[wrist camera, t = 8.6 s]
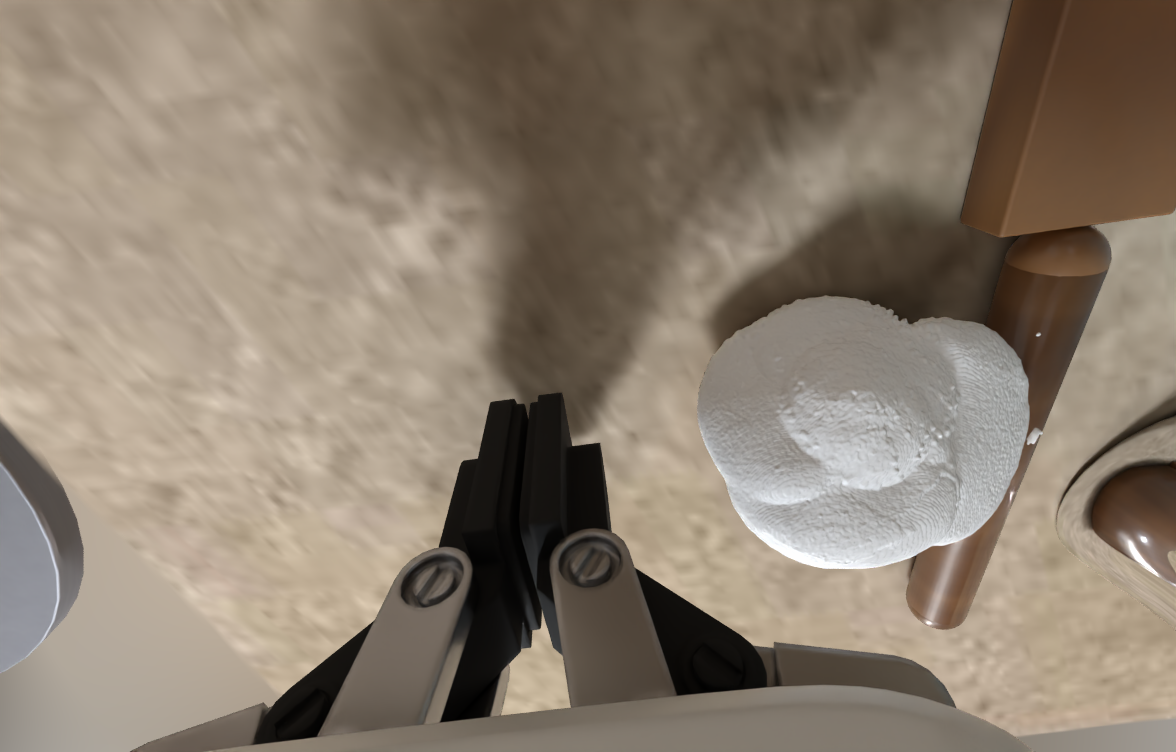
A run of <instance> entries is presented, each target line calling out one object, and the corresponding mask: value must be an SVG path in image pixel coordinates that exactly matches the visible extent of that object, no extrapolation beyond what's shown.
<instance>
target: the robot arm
mask: <svg viewBox="0 0 1176 752" xmlns="http://www.w3.org/2000/svg"><path fill="white" fill-rule="evenodd" d="M542 611H543V614H544V618H545V621H546V625H547V628H548V631H549V634H550V638H551V641H552V645H553V648H554V649H556V650H557V651H558V652H559V653H560V654H561V655H562V656H563V660H564V666H565V673H566V679H567V686H568V692H569V699H570V705H571V708H564V709H555V710H546V711H537V712H528V713H520V714H511V715H502V716H501V713H502V708H503V704H504V699H505V695H506V691H507V686H508V682H509V674H510V667H509V663H510V662H511V661H512V660H513V659H514V658H515V657H516V656H517V655H518V654H519V653H520V652H521V649H522V648H530V647H531V643H532V630H537V629H540V628H541V619H542ZM130 752H1034V751H1033V750H1032V749H1031V748H1029V747H1028V746H1027V745H1026V744H1024V743H1023V742H1022V741H1020V740H1019V739H1017V738H1016V737H1014V736H1013V735H1011V734H1010V733H1008V732H1007V731H1005V730H1003V729H1001V728H999V727H997V726H995V725H993V724H991V723H989V722H987V721H986V720H983V719H981V718H978V717H976V716H974V715H971V714H969V713H966V712H964V711H962V710H959V709H957V708H956V706H955V703H954V701H953V700H952V698H951V696H950V694H949V693H948V691H947V689H946V687H945V686H944V684H943V683H942V682H941V681H940V680H938V679H937V678H936V677H935V676H934V675H933V674H932V673H931V672H930V671H929V670H928V669H926V668H924V667H923V666H921V665H919V664H917V663H916V662H914V661H912V660H909V659H906V658H902V657H898V656H895V655H886V654H877V653H868V652H859V651H850V650H841V649H832V648H823V647H814V646H805V645H795V644H786V643H777V642H774V648H768V647H759V646H753V645H752V644H751V643H749V642H748V641H747V640H746V639H745V638H743V637H742V636H741V635H740V634H738V633H736V632H735V631H733V630H732V629H730V628H729V627H727V626H725V625H724V624H722V623H721V622H719V621H718V620H716V619H714V618H713V617H711V616H710V615H708V614H707V613H705V612H703V611H702V610H700V609H699V608H697V607H696V606H694V605H692V604H691V603H689V602H688V601H686V600H685V599H683V598H682V597H680V596H678V595H677V594H675V593H674V592H672V591H671V590H669V589H667V588H666V587H664V586H663V585H661V584H660V583H658V582H656V581H655V580H653V579H652V578H650V577H649V576H647V575H645V574H644V573H642V572H641V571H639V570H638V569H636V568H635V567H634V564H633V561H632V558H631V555H630V552H629V550H628V548H627V546H626V544H625V542H624V541H623V540H622V539H621V538H620V537H619V536H617V535H616V534H614V533H612V531H611V522H610V512H609V503H608V495H607V487H606V479H605V472H604V465H603V458H602V452H601V446H600V443H594V444H586V445H579V446H572V442H571V437H570V431H569V426H568V421H567V415H566V410H565V405H564V399H563V395H562V393H554V394H546V395H539V396H538V402H532V403H530V410H529V420H528V415H527V411H526V407H525V405H524V404H517V403H516V401H515V399H509V400H502V401H494V402H491V403H490V406H489V411H488V415H487V420H486V424H485V429H484V433H483V438H482V442H481V447H480V451H479V456H478V459H472V460H465V461H463V462H462V463H461V465H460V468H459V472H458V476H457V480H456V483H455V487H454V491H453V495H452V499H451V502H450V506H449V510H448V514H447V518H446V521H445V525H444V529H443V533H442V537H441V540H440V544H439V548H434V549H431V550H429V551H426V552H423V553H421V554H420V555H418V556H417V557H415V558H413V559H412V560H411V561H410V562H409V563H407V564H406V565H405V566H404V567H403V568H402V569H401V571H400V572H399V574H398V575H397V577H396V578H395V580H394V582H393V584H392V586H391V588H390V590H389V592H388V594H387V596H386V598H385V600H384V602H383V604H382V607H381V609H380V611H379V613H378V615H377V617H376V619H375V620H374V621H373V622H372V623H371V624H369V625H368V626H367V627H366V628H365V629H363V630H362V631H361V632H360V633H358V634H357V635H356V636H355V637H353V638H352V639H351V640H350V641H348V642H347V643H346V644H345V645H343V646H342V647H341V648H340V649H338V650H337V651H336V652H335V653H333V654H332V655H331V656H330V657H328V658H327V659H326V660H325V661H323V662H322V663H321V664H320V665H319V666H317V667H316V668H315V669H314V670H312V671H311V672H310V673H309V674H307V675H306V676H305V677H304V678H302V679H301V680H300V681H299V682H297V683H296V684H295V685H294V686H292V687H291V688H290V689H289V690H288V691H287V692H286V693H285V694H284V695H282V696H281V697H280V698H279V699H278V700H277V701H276V702H275V704H274V705H273V706H272V707H269V708H268V707H267V706H266V705H265V704H264V703H261V704H258V705H255V706H252V707H249V708H246V709H244V710H241V711H238V712H235V713H232V714H229V715H227V716H224V717H220V718H218V719H215V720H212V721H209V722H206V723H203V724H200V725H197V726H194V727H191V728H189V729H186V730H183V731H180V732H177V733H174V734H171V735H168V736H165V737H162V738H160V739H157V740H154V741H151V742H148V743H146V744H144V745H142V746H140V747H138V748H136V749H134V750H132V751H130Z"/></svg>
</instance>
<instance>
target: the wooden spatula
mask: <svg viewBox="0 0 1176 752" xmlns="http://www.w3.org/2000/svg"><path fill="white" fill-rule="evenodd" d="M1175 209H1176V0H1013V3H1012V7H1011V11H1010V15H1009V20H1008V24H1007V28H1006V32H1005V36H1004V40H1003V45H1002V49H1001V53H1000V57H999V61H998V65H997V69H996V74H995V78H994V82H993V86H992V90H991V94H990V99H989V103H988V107H987V111H986V115H985V119H984V124H983V128H982V132H981V136H980V140H979V144H978V148H977V153H976V157H975V161H974V165H973V169H972V173H971V178H970V182H969V186H968V190H967V194H966V198H965V203H964V207H963V211H962V215H961V219H960V221H961V223H963V224H965V225H968V226H971V227H973V228H976V229H979V230H981V231H984V232H987V233H989V234H992V235H995V236H997V237H1000V238H1002V237H1009V236H1016V235H1021V236H1020V237H1019V238H1018V239H1017V240H1016V241H1015V242H1014V243H1013V244H1012V246H1011V247H1010V249H1009V250H1008V252H1007V255H1006V257H1005V260H1004V263H1003V267H1002V270H1001V273H1000V277H999V280H998V284H997V287H996V290H995V294H994V297H993V300H992V304H991V307H990V310H989V314H988V317H987V321H986V324H985V326H986V327H988V328H989V329H991V330H992V331H996V332H997V333H998V334H999V335H1000V336H1001V337H1002V338H1003V339H1004V340H1005V341H1006V343H1007V344H1008V345H1009V346H1010V347H1011V348H1013V349H1014V351H1015V352H1016V354H1017V356H1018V357H1019V358H1020V359H1021V363H1022V366H1023V370H1024V372H1025V374H1026V376H1027V378H1028V383H1029V388H1028V404H1029V406H1030V407H1029V411H1030V416H1029V418H1030V419H1029V427H1028V432H1027V435H1026V439H1025V442H1024V446H1023V449H1022V454H1021V457H1020V460H1019V465H1018V468H1017V470H1016V472H1015V474H1014V476H1013V477H1012V479H1011V481H1010V485H1009V487H1008V489H1007V491H1006V493H1005V495H1004V497H1003V500H1002V502H1001V503H1000V504H999V506H998V508H997V510H996V511H995V512H994V513H993V515H992V516H991V517H990V518H989V519H988V520H987V521H986V523H985V524H984V525H982V527H980V528H979V529H978V530H977V531H976V532H974V533H973V534H972V535H970V536H968V537H966V538H964V539H962V540H960V541H957V542H954V543H950V544H947V545H944V546H931V547H929V548H928V549H926V550H924V551H922V552H920V553H918V554H917V557H916V560H915V563H914V567H913V570H912V574H911V577H910V580H909V584H908V587H907V591H906V599H907V603H908V606H909V608H910V610H911V612H912V613H913V614H914V616H915V617H916V618H917V619H918V620H920V621H921V622H922V623H924V624H926V625H927V626H930V627H932V628H936V629H941V630H947V629H952V628H955V627H957V626H959V625H960V624H961V623H963V621H964V620H965V618H966V616H967V614H968V612H969V609H970V607H971V604H972V602H973V599H974V597H975V595H976V592H977V590H978V587H979V585H980V582H981V580H982V577H983V575H984V573H985V570H986V568H987V565H988V563H989V560H990V558H991V555H992V553H993V551H994V548H995V546H996V543H997V541H998V538H999V536H1000V533H1001V531H1002V528H1003V526H1004V524H1005V521H1006V519H1007V516H1008V514H1009V511H1010V509H1011V506H1012V504H1013V502H1014V499H1015V497H1016V494H1017V492H1018V489H1019V487H1020V484H1021V482H1022V480H1023V477H1024V475H1025V472H1026V470H1027V467H1028V465H1029V462H1030V460H1031V458H1032V455H1033V453H1034V450H1035V448H1036V445H1037V443H1038V440H1039V438H1040V435H1041V434H1039V437H1038V438H1037V440H1036V442H1035V443H1034V444H1032V443H1030V444H1029V445H1027V438H1028V436H1029V435H1030V433H1031V432H1032V431H1033V429H1034V428H1038V429H1039V430H1041V431H1043V428H1044V426H1045V423H1046V421H1047V418H1048V416H1049V413H1050V411H1051V409H1052V406H1053V404H1054V401H1055V399H1056V396H1057V394H1058V391H1059V389H1060V387H1061V384H1062V382H1063V379H1064V377H1065V374H1066V372H1067V369H1068V367H1069V365H1070V362H1071V360H1072V357H1073V355H1074V352H1075V350H1076V347H1077V345H1078V342H1079V340H1080V338H1081V335H1082V333H1083V330H1084V328H1085V325H1086V323H1087V320H1088V318H1089V316H1090V313H1091V311H1092V308H1093V306H1094V303H1095V301H1096V298H1097V296H1098V294H1099V291H1100V289H1101V286H1102V284H1103V281H1104V279H1105V276H1106V274H1107V271H1108V269H1109V266H1110V263H1111V248H1110V245H1109V242H1108V240H1107V239H1106V237H1105V236H1104V235H1103V234H1102V233H1101V232H1100V231H1099V230H1097V229H1096V228H1094V227H1092V226H1090V225H1095V224H1103V223H1110V222H1117V221H1124V220H1132V219H1139V218H1146V217H1153V216H1160V215H1167V214H1171V213H1173V212H1174V211H1175ZM1038 332H1039V333H1041V335H1040V336H1036V334H1037V333H1038Z"/></svg>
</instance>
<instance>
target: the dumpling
mask: <svg viewBox="0 0 1176 752" xmlns="http://www.w3.org/2000/svg"><path fill="white" fill-rule="evenodd" d="M893 313H894V312H893V310H892V309H889V310H886V308H884V307H880V305H879V304H877V305H871V303H870V302H869V301H866V302H865V301H863V300H859V299H856V298H847V297H839V296H834V297H830V296H827V295H825V296H822V297H817V298H807V299H805V300H801V299H797V300H795V301H794V302H793V303H792V304H790V305H782V307H781V308H779V309H775V310H774V311H773V312H770V313H769V314H768V316H767V317H762V318H760V319H759V320H757V321H755V322H753V323H752V325H751V326H747V327H745V328H744V329H742V330H737V331H736V332H735V333H734V335H733V336H732V337H731V338H729V339H726V340H725V341H724V342H723V345H722V346H721V347H720V348H719V349H718V350H717V352H716V353H715V354H714V355H713V356H712V357H711V359H710V362H709V364H708V366H707V369H706V371H705V372H704V377H703V380H702V382H701V385H700V387H699V393H698V405H697V411H698V413H697V414H698V423H699V428H700V431H701V435H702V438H703V440H704V443H705V446H706V448H707V449H708V452H709V454H710V455H711V457H712V459H713V461H714V463H715V465H716V467H717V468H718V470H719V471H720V473H721V474H722V476H723V477H724V479H725V481H726V485H727V490H728V492H729V495H730V499H731V501H732V504H733V506H734V508H735V510H736V512H738V513H739V515H740V517H741V519H742V520H743V521H744V523H745V524H746V526H747V527H748V528H749V529H750V530H751V531H752V532H754V533H755V534H756V535H757V536H758V537H759V538H760V539H761V540H763V541H764V542H765V543H766V544H768V545H769V546H770V547H772V548H773V549H775V550H777V551H779V552H780V553H782V554H783V555H785V556H786V557H789V558H792V559H794V560H796V561H798V562H800V563H803V564H808V565H811V566H815V567H820V568H824V569H829V568H837V569H839V568H841V569H862V568H875V567H880V566H885V565H888V564H892V563H896V562H899V561H902V560H905V559H909V558H911V557H913V556H915V555H917V554H918V553H920V552H922V551H924V550H926V549H928V548H929V547H931V546H944V545H947V544H950V543H954V542H957V541H960V540H962V539H964V538H966V537H968V536H970V535H972V534H973V533H974V532H976V531H977V530H978V529H979V528H980V527H982V525H984V524H985V523H986V521H987V520H988V519H989V518H990V517H991V516H992V515H993V513H994V512H995V511H996V510H997V508H998V506H999V504H1000V503H1001V502H1002V500H1003V497H1004V495H1005V493H1006V491H1007V489H1008V487H1009V485H1010V481H1011V479H1012V477H1013V476H1014V474H1015V472H1016V470H1017V468H1018V465H1019V460H1020V457H1021V454H1022V449H1023V446H1024V442H1025V439H1026V435H1027V432H1028V427H1029V419H1030V418H1029V416H1030V411H1029V407H1030V406H1029V404H1028V388H1029V383H1028V378H1027V376H1026V374H1025V372H1024V370H1023V366H1022V363H1021V359H1020V358H1019V357H1018V356H1017V354H1016V352H1015V351H1014V349H1013V348H1011V347H1010V346H1009V345H1008V344H1007V343H1006V341H1005V340H1004V339H1003V338H1002V337H1001V336H1000V335H999V334H998V333H997V332H996V331H992V330H991V329H989V328H988V327H986V326H985V325H983V324H979V323H976V322H973V321H961V320H953V319H952V318H949V317H941V318H934V317H930V318H926V319H920V320H919V321H918V322H914V323H913V324H908V321H907V319H902V320H901V321H898V316H897V315H895V316H893ZM1040 335H1041V333H1039V332H1038V333H1037V334H1036V336H1040ZM1042 433H1043V432H1042V431H1041V430H1039V429H1038V428H1034V429H1033V431H1032V432H1031V433H1030V435H1029V436H1028V438H1027V445H1029V444H1030V443H1032V444H1034V443H1035V442H1036V440H1037V438H1038V437H1039V434H1042Z"/></svg>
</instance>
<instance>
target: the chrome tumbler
mask: <svg viewBox="0 0 1176 752" xmlns="http://www.w3.org/2000/svg"><path fill="white" fill-rule="evenodd" d="M1056 529H1057V534H1058V537H1059V539H1060V541H1061V542H1062V544H1063V545H1064V547H1065V548H1066V549H1067V550H1068V551H1069V552H1070V553H1071V554H1072V555H1073V556H1075V557H1076V558H1077V559H1078V560H1080V561H1081V562H1082V563H1084V564H1085V565H1086V566H1088V567H1089V568H1090V569H1092V570H1093V571H1095V572H1096V573H1098V574H1099V575H1100V576H1102V577H1103V578H1105V579H1106V580H1108V581H1109V582H1111V583H1112V584H1113V585H1115V586H1116V587H1118V588H1119V589H1121V590H1122V591H1124V592H1125V593H1126V594H1128V595H1129V596H1131V597H1132V598H1134V599H1135V600H1136V601H1138V602H1139V603H1141V604H1142V605H1143V606H1145V607H1146V608H1147V609H1149V610H1150V611H1151V612H1153V613H1154V614H1155V615H1157V616H1158V617H1159V618H1161V619H1162V620H1163V621H1165V622H1166V623H1167V624H1168V625H1170V626H1171V627H1172V628H1173V629H1174V630H1175V631H1176V416H1173V417H1170V418H1167V419H1165V420H1162V421H1160V422H1157V423H1155V424H1153V425H1151V426H1149V427H1147V428H1145V429H1143V430H1141V431H1139V432H1137V433H1135V434H1133V435H1131V436H1130V437H1128V438H1126V439H1125V440H1123V441H1121V442H1120V443H1118V444H1117V445H1115V446H1114V447H1112V448H1111V449H1110V450H1108V451H1107V452H1106V453H1104V454H1103V455H1102V456H1100V457H1099V458H1098V459H1097V460H1096V461H1094V462H1093V463H1092V464H1091V465H1090V466H1089V467H1088V468H1087V469H1086V470H1085V471H1084V472H1083V473H1082V474H1081V475H1080V476H1079V477H1078V478H1077V479H1076V481H1075V482H1074V483H1073V484H1072V486H1071V487H1070V489H1069V490H1068V492H1067V493H1066V495H1065V496H1064V498H1063V500H1062V502H1061V505H1060V507H1059V510H1058V514H1057V521H1056Z"/></svg>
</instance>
